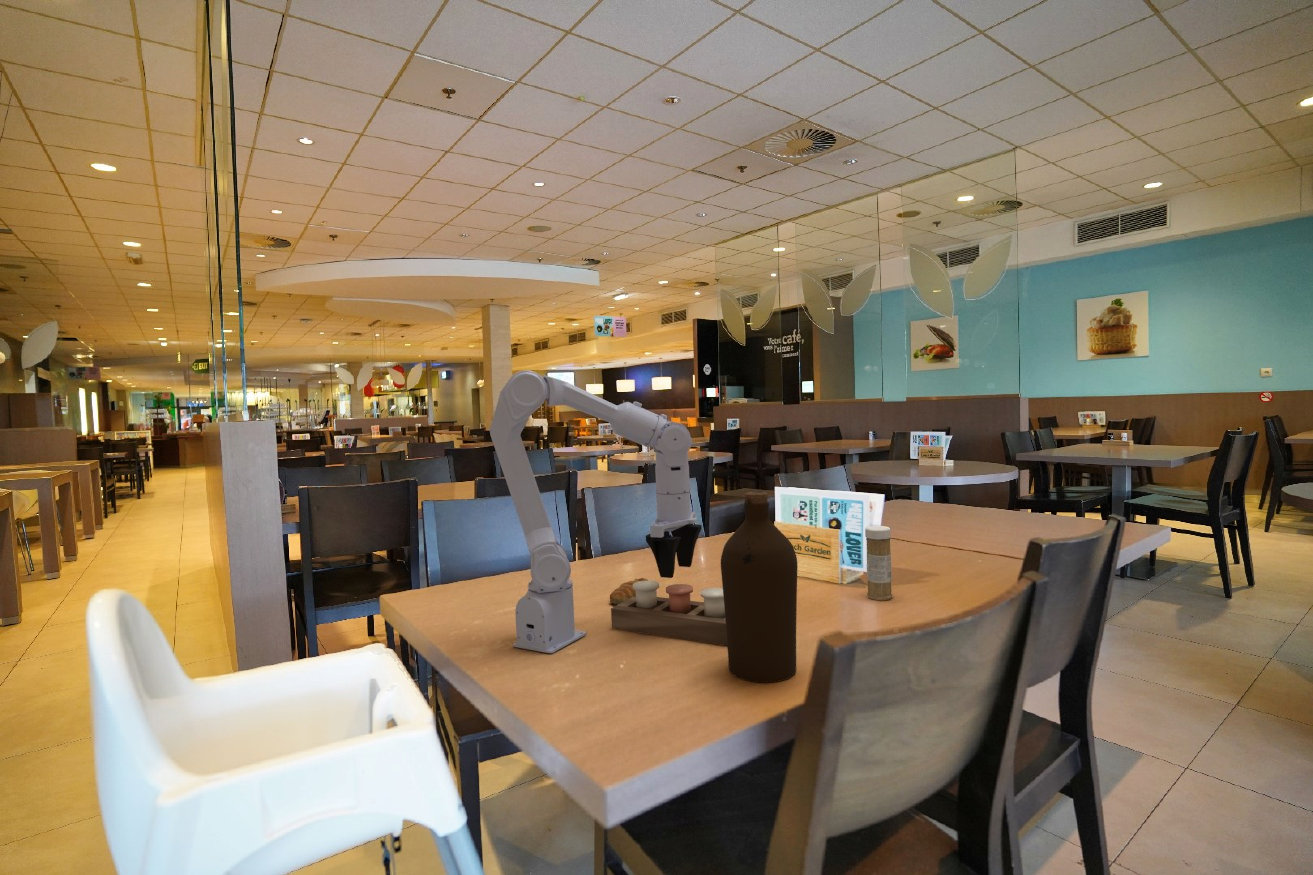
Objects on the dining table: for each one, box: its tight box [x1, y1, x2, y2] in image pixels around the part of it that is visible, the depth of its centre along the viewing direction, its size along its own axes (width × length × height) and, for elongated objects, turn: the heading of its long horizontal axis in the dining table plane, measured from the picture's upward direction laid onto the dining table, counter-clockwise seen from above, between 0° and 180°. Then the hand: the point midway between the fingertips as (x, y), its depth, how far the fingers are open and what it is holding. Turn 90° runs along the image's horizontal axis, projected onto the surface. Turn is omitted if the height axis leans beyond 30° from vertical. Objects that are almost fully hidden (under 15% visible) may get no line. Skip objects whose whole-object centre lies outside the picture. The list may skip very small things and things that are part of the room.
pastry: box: [609, 577, 650, 605], centre depth 129 cm, size 9×7×4 cm
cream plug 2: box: [700, 587, 725, 618], centre depth 108 cm, size 5×5×4 cm
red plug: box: [665, 583, 694, 614], centre depth 111 cm, size 5×5×4 cm
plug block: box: [610, 596, 727, 647], centre depth 111 cm, size 9×22×4 cm, turn 61°
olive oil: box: [720, 491, 799, 683], centre depth 92 cm, size 11×11×25 cm
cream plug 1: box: [633, 580, 660, 609], centre depth 114 cm, size 5×5×4 cm
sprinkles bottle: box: [864, 525, 893, 601], centre depth 124 cm, size 5×5×14 cm
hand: (676, 571), depth 112 cm, fingers open, 7 cm apart
